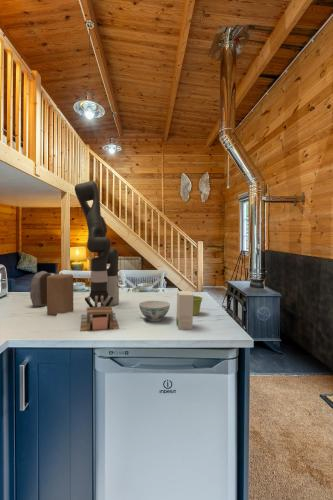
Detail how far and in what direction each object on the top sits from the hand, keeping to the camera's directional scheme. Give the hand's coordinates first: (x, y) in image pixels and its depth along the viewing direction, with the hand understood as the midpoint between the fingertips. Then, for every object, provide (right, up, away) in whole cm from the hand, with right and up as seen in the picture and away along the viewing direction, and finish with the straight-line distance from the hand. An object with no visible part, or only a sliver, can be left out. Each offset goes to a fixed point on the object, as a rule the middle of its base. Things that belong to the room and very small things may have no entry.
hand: (99, 317), depth 138 cm
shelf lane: (0, -3, -1) cm, 3 cm away
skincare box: (+39, -3, -4) cm, 40 cm away
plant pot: (+45, -3, +19) cm, 49 cm away
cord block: (+1, -1, -5) cm, 5 cm away
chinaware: (+25, -3, +8) cm, 26 cm away
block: (-24, -2, +18) cm, 30 cm away
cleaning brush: (-42, -1, +36) cm, 55 cm away
